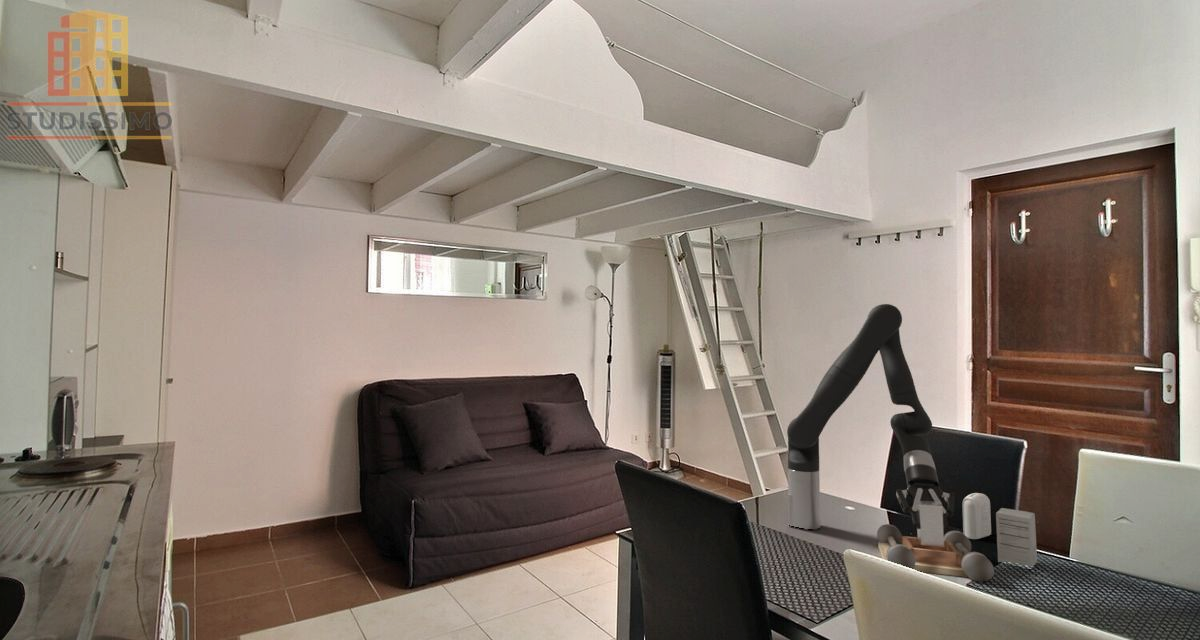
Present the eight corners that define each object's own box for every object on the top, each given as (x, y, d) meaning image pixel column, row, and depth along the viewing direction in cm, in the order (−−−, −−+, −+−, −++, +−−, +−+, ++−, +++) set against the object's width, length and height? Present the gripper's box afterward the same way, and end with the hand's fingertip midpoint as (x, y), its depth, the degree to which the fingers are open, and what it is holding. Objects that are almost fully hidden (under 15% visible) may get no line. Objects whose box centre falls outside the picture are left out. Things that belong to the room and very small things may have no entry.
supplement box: (1003, 556, 149) (1001, 507, 150) (1038, 563, 144) (1035, 512, 145) (996, 562, 144) (994, 512, 145) (1033, 570, 139) (1030, 518, 140)
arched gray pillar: (977, 531, 171) (976, 490, 172) (993, 535, 168) (991, 492, 169) (961, 537, 166) (959, 494, 167) (977, 541, 162) (975, 497, 163)
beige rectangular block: (921, 545, 143) (919, 504, 143) (917, 539, 147) (916, 500, 148) (944, 547, 141) (942, 506, 142) (939, 541, 146) (937, 501, 146)
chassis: (888, 570, 138) (887, 545, 138) (877, 545, 157) (876, 523, 158) (994, 583, 130) (993, 556, 131) (969, 555, 150) (968, 531, 150)
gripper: (892, 461, 155) (900, 517, 143) (952, 464, 150) (966, 523, 138) (890, 477, 159) (898, 533, 147) (948, 481, 155) (962, 539, 142)
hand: (931, 528), depth 143 cm, fingers closed on beige rectangular block, 5 cm apart
